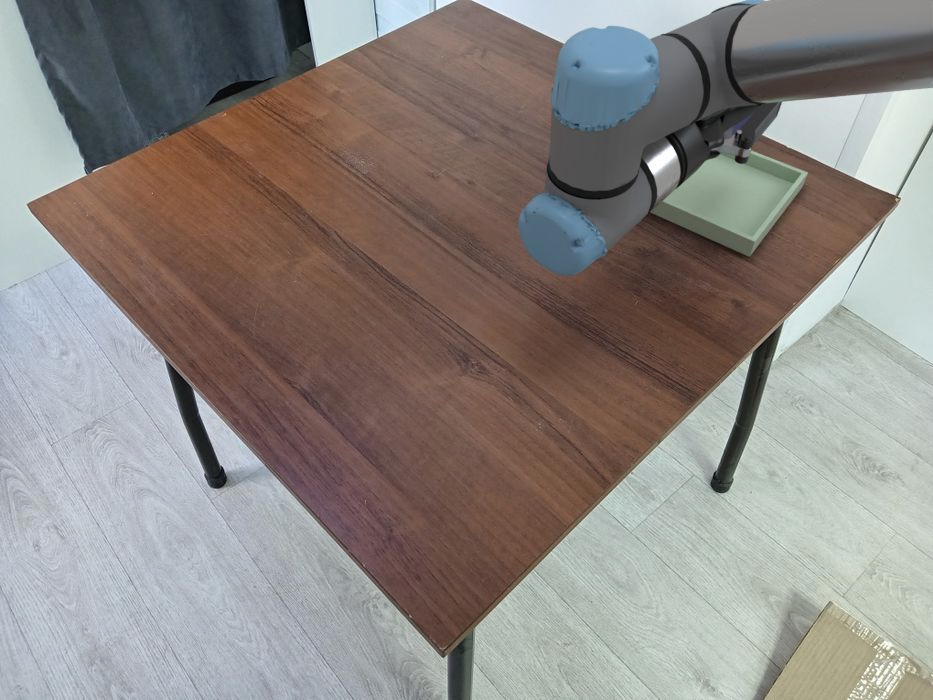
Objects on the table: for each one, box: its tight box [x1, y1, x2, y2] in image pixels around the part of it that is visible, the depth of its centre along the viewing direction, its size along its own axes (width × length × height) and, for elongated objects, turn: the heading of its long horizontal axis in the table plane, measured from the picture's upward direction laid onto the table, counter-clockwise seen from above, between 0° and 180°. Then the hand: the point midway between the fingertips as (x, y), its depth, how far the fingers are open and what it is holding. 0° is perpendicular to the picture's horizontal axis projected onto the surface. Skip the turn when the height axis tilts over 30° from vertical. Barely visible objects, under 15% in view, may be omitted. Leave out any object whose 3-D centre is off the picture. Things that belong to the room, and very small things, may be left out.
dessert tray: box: [649, 150, 809, 258], centre depth 95 cm, size 15×15×2 cm
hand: (772, 56), depth 83 cm, fingers closed on flask, 3 cm apart
